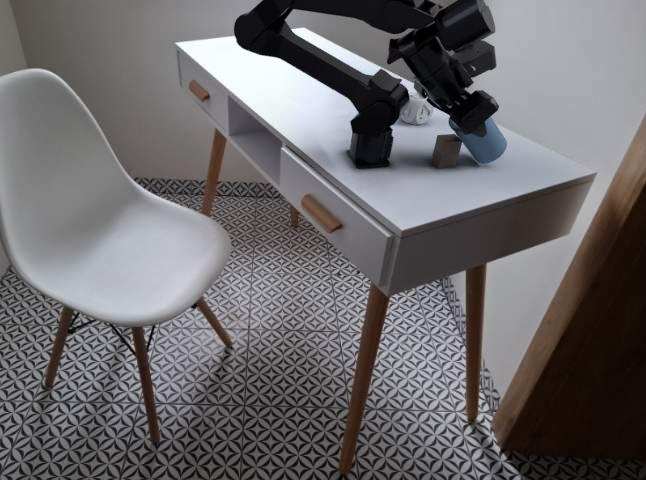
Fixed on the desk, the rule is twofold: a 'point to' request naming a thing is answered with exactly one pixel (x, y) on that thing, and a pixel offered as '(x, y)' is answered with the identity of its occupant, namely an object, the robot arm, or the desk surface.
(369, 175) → the desk surface
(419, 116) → the die
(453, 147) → the small dark brown block
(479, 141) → the blue canister
